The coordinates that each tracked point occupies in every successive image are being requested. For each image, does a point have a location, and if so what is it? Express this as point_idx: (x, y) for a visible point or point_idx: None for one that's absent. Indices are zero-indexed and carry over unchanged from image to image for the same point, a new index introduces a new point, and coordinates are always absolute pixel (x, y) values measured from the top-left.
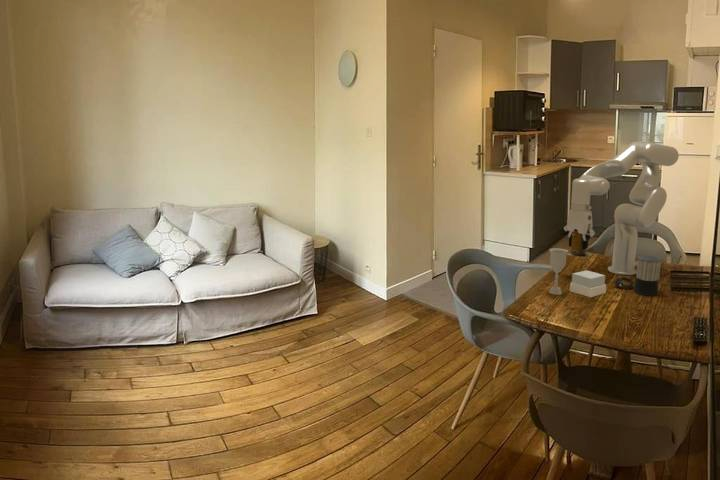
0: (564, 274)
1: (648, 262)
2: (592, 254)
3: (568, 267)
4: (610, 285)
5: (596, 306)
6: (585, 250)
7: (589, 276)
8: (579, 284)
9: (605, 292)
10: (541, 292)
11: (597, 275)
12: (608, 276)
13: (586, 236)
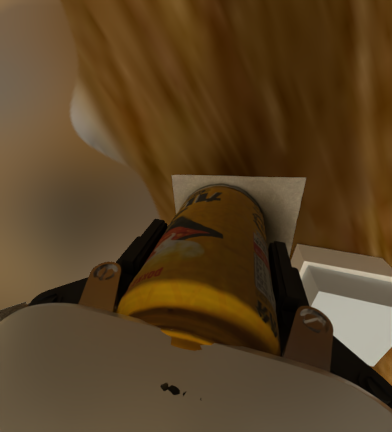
0: (175, 165)
1: None
2: (302, 181)
3: (118, 49)
4: (378, 165)
5: (384, 356)
6: (261, 221)
7: (359, 348)
8: None
9: (383, 260)
10: None
11: (386, 328)
12: (328, 20)
13: (292, 347)
